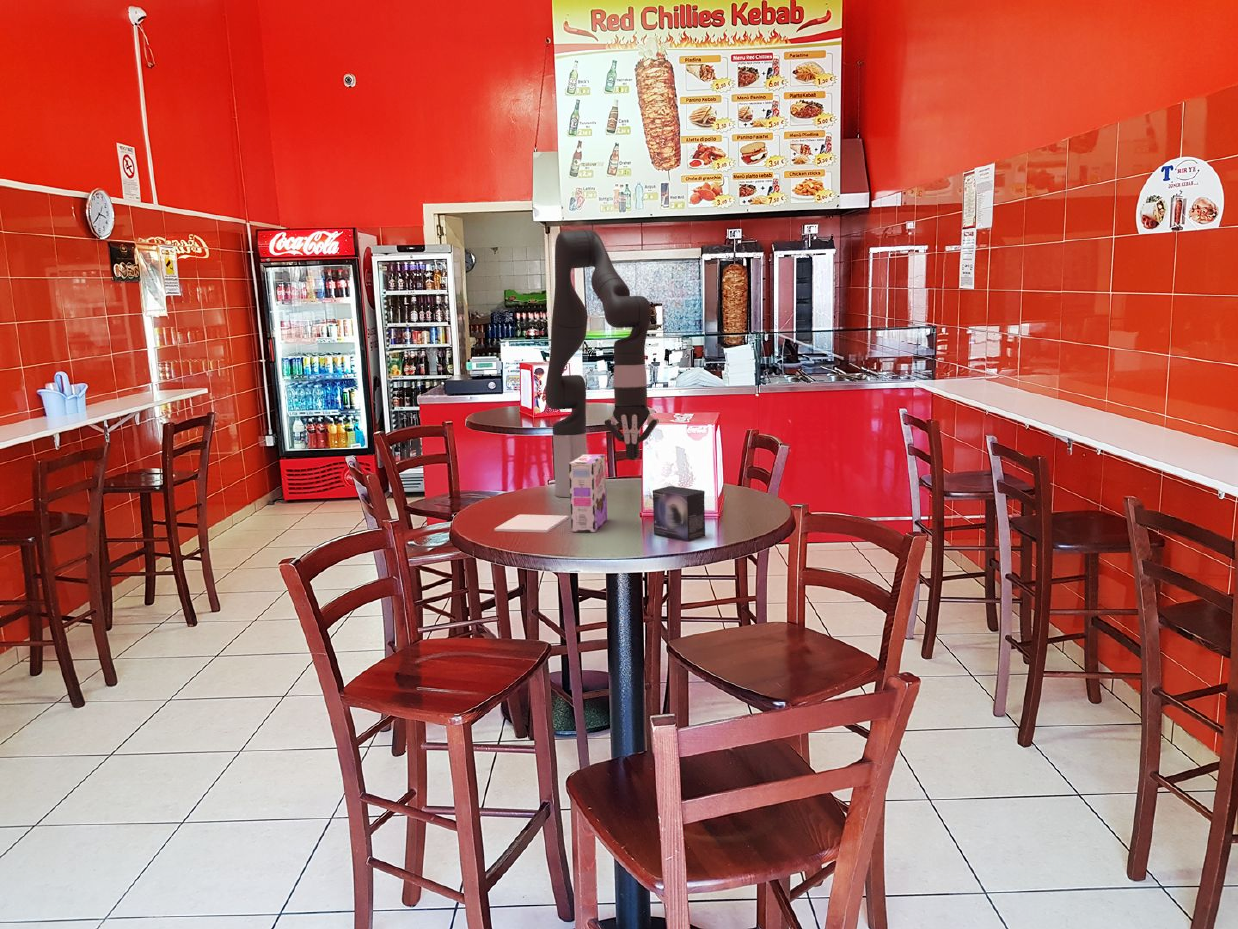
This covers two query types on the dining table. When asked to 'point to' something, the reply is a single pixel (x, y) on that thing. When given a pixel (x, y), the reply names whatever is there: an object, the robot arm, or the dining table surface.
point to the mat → (532, 523)
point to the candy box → (588, 493)
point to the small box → (679, 513)
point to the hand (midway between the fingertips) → (632, 459)
